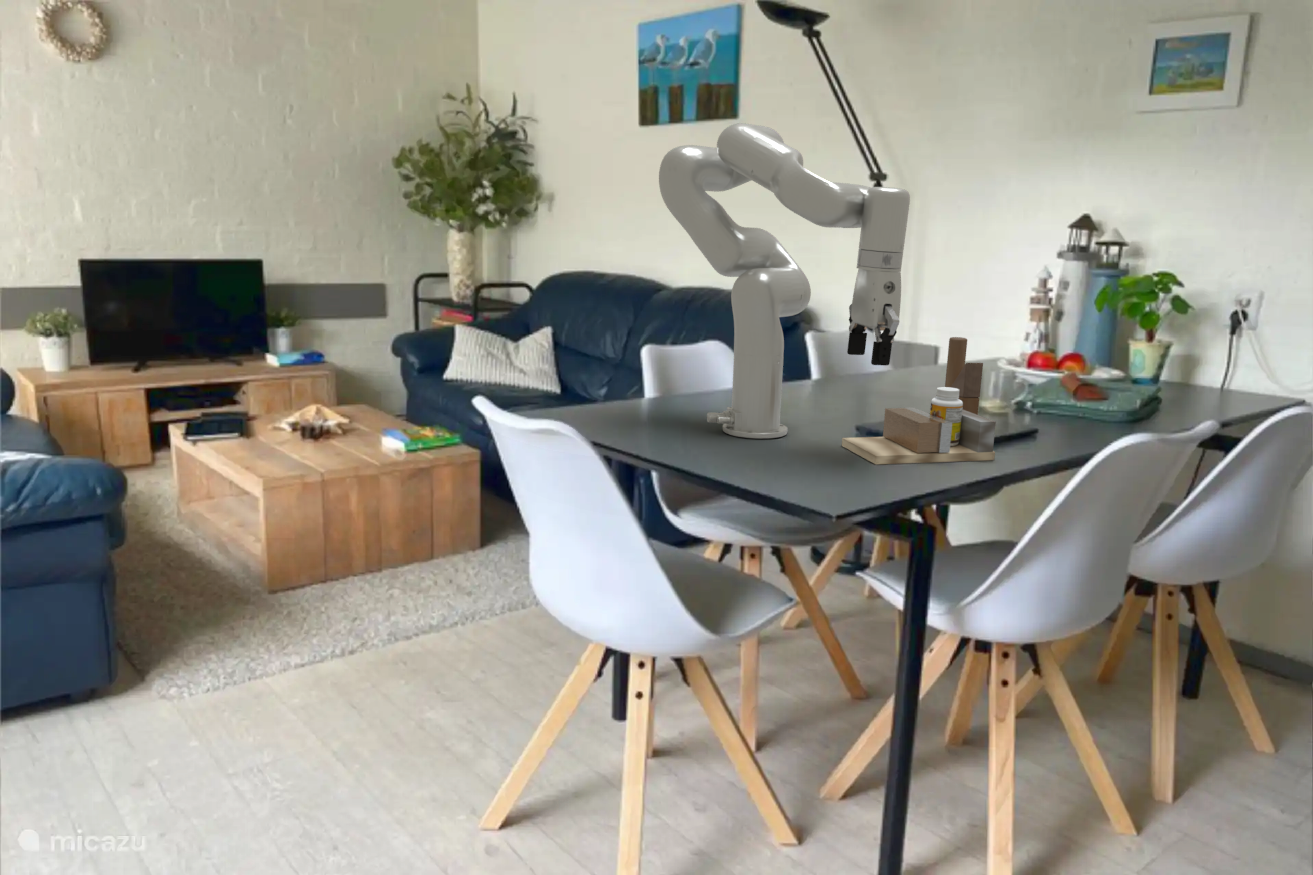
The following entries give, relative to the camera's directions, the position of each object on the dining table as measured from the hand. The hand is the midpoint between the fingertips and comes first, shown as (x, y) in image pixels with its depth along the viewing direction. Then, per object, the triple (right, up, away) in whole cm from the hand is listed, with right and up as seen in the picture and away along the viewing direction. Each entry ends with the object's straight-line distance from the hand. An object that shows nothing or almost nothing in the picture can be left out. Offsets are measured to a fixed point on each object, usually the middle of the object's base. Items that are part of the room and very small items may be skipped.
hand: (867, 359), depth 171 cm
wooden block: (+25, -12, +29) cm, 40 cm away
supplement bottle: (+15, -15, +6) cm, 22 cm away
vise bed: (+10, -16, +5) cm, 20 cm away
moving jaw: (+10, -15, +5) cm, 18 cm away
